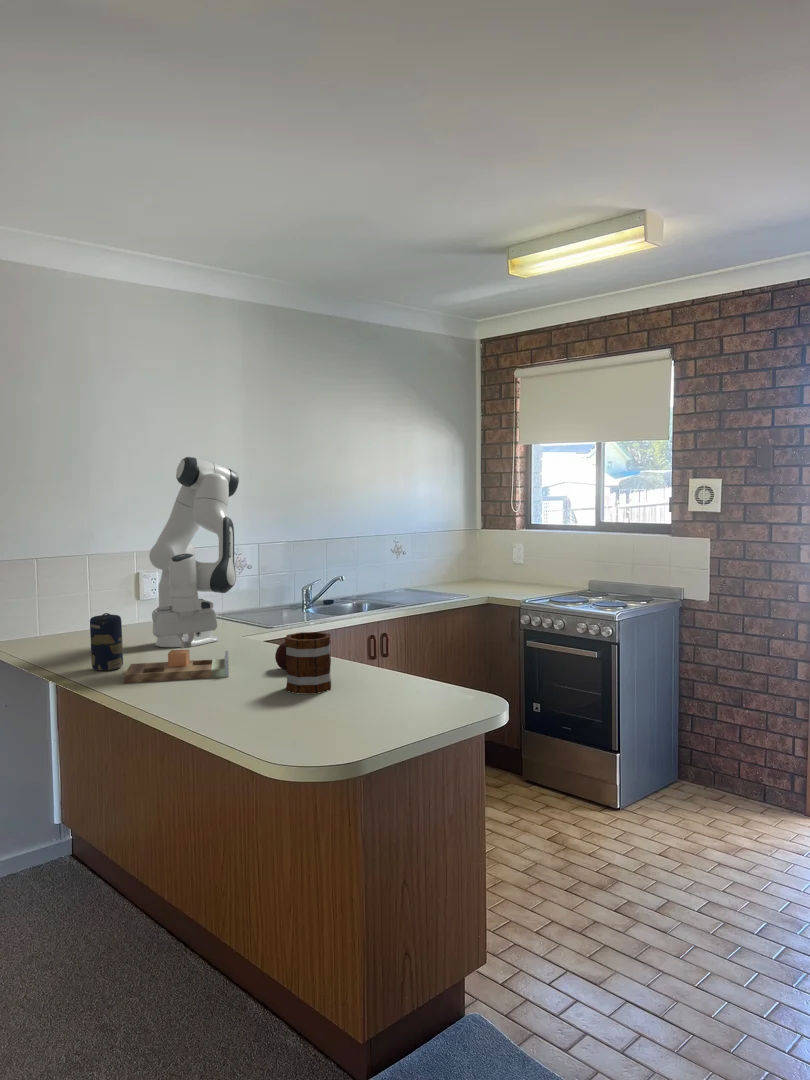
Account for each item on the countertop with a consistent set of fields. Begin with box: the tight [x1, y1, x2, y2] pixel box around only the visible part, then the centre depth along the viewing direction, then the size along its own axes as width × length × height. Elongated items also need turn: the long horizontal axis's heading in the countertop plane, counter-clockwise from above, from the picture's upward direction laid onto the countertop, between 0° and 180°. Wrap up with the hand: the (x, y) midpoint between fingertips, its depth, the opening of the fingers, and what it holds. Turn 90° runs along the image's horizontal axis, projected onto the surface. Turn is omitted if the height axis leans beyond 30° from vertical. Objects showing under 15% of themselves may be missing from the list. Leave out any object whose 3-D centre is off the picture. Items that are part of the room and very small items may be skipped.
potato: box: [274, 641, 286, 671], centre depth 247 cm, size 9×12×9 cm
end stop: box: [224, 650, 230, 678], centre depth 247 cm, size 1×15×5 cm, turn 12°
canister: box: [89, 612, 124, 671], centre depth 252 cm, size 10×10×18 cm
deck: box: [123, 658, 226, 684], centre depth 243 cm, size 29×15×2 cm, turn 102°
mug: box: [284, 631, 332, 694], centre depth 227 cm, size 20×14×15 cm
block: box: [167, 649, 191, 666], centre depth 246 cm, size 6×6×4 cm
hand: (186, 647), depth 254 cm, fingers closed
